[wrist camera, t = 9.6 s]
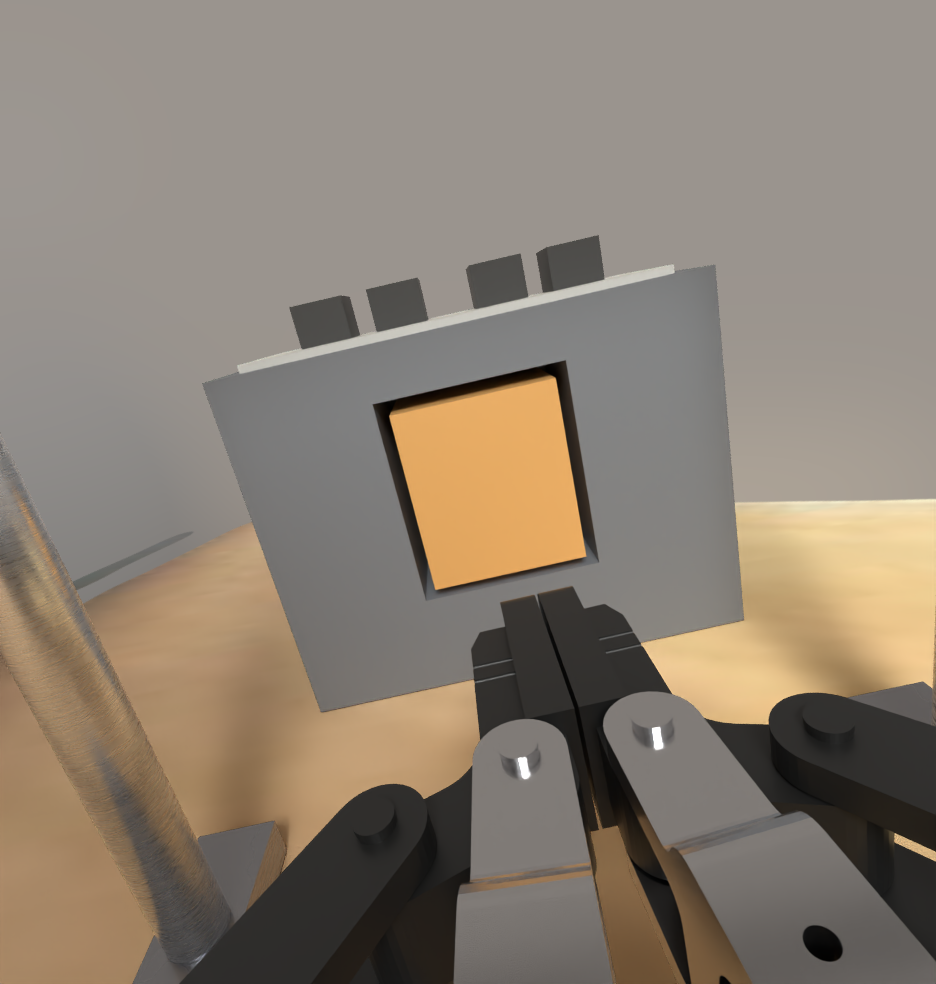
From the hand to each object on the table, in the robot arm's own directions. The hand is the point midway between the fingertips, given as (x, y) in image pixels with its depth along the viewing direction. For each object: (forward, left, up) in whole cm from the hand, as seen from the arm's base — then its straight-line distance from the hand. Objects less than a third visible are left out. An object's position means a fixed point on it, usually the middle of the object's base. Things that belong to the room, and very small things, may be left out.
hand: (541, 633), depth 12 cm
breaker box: (0, +14, -8) cm, 16 cm away
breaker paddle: (0, +13, -4) cm, 13 cm away
